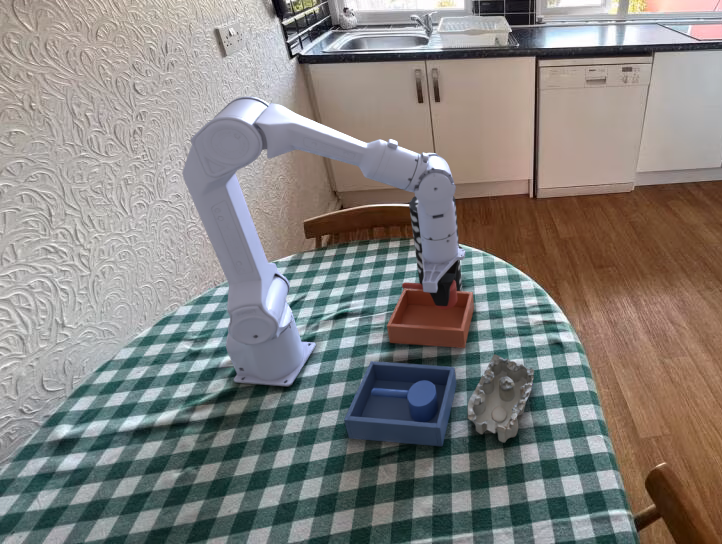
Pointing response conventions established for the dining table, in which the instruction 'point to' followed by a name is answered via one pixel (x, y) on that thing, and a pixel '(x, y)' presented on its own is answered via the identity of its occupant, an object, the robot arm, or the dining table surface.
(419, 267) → the black white spotted cylinder
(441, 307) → the red ladle-shaped piece
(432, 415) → the blue cylinder with handle
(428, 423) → the blue bin
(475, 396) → the egg carton
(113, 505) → the dining table surface
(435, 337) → the red bin
